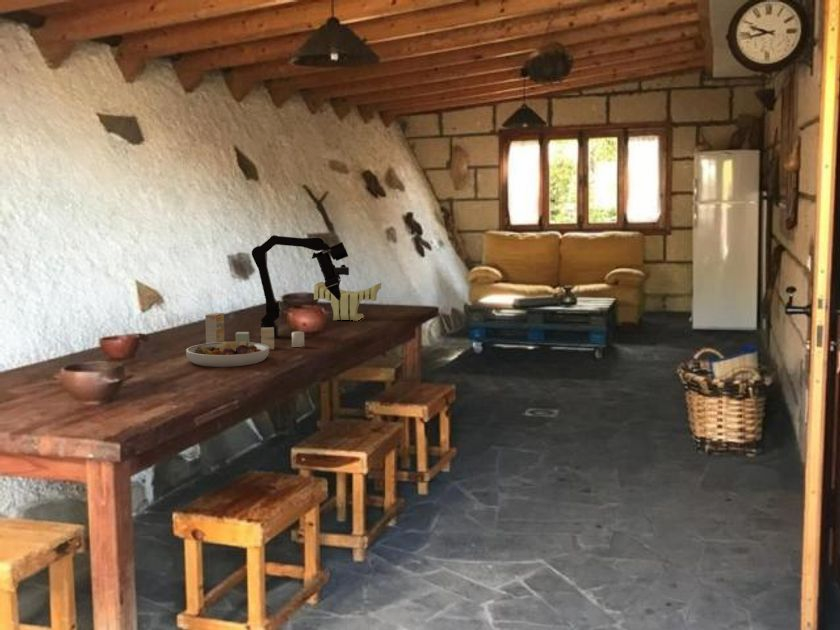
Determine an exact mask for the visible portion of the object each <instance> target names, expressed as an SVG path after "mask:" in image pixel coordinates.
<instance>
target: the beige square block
mask: <svg viewBox="0 0 840 630" xmlns="http://www.w3.org/2000/svg"><path fill="white" fill-rule="evenodd" d="M303 346H304V347H305V331H298V330H297V331H291V348H292V347H303ZM304 347H303V348H304Z"/></svg>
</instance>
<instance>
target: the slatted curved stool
mask: <svg viewBox="0 0 840 630" xmlns="http://www.w3.org/2000/svg"><path fill="white" fill-rule="evenodd" d="M324 283H325V281H319V282H317V283H315V284H314V287H313V300H314V301H315V300H324V299H325V300H326V301H328V302H330V305H331V309H332V312H333V313H332V314H333V317H332V321H337V320H341V321H342V320H350V321H351V320H353V321H352V322H359V321H358V320H360V319H361V318H363V317H365V316H364V314H363V313H358V308H359V305H360V302H362V301H364V300H365V301H366V300H367V301H369V300H370V301H372V302H375V301H377V295H378V292H379V291H380V290H381V289H382V282H379V283H376V284H375V285H373V286H371V287H368V288H366V289H362V290H356V291H353V290H352V291H351V290H343V289H340V293H341V297H340V300H337V298H336V297H335V296H334V295H333V294H332V293H331V292H330V291H329V290H328V289H327V287H326V286H325V284H324ZM363 319H364V318H363ZM360 321H361V320H360Z"/></svg>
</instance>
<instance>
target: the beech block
mask: <svg viewBox="0 0 840 630" xmlns="http://www.w3.org/2000/svg"><path fill="white" fill-rule="evenodd" d="M260 336H261V338H260V344H265V345H267V346H269V350H274V349H275V338H274V327H273V328H261V327H260Z"/></svg>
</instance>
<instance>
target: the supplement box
mask: <svg viewBox="0 0 840 630" xmlns="http://www.w3.org/2000/svg"><path fill="white" fill-rule="evenodd" d="M204 320H205V344H207V343H217V342H225V312H213V313H208V314H205V317H204Z"/></svg>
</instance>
